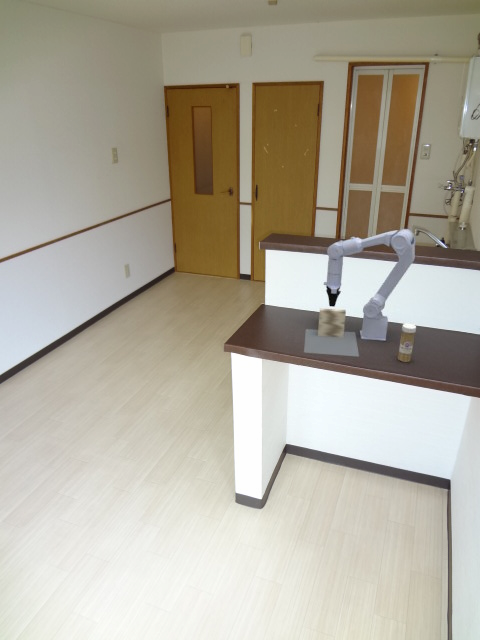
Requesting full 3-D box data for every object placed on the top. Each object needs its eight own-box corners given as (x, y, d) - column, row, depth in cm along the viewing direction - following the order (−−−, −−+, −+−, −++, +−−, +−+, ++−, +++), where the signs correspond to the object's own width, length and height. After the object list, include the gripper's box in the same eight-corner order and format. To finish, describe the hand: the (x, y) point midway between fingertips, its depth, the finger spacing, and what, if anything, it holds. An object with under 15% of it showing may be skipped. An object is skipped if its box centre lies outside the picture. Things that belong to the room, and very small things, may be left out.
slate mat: (354, 333, 187) (355, 332, 187) (359, 357, 167) (359, 356, 167) (305, 329, 190) (305, 329, 190) (303, 353, 170) (303, 352, 170)
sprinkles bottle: (399, 362, 163) (405, 328, 158) (395, 356, 167) (400, 323, 162) (412, 362, 163) (418, 328, 158) (408, 356, 167) (413, 323, 162)
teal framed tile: (343, 335, 184) (345, 309, 180) (343, 337, 182) (345, 311, 178) (317, 333, 185) (319, 308, 181) (317, 335, 183) (319, 310, 179)
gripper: (324, 267, 190) (322, 298, 195) (324, 277, 177) (322, 310, 182) (341, 268, 189) (338, 299, 194) (343, 278, 176) (340, 311, 181)
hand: (331, 304), depth 188 cm, fingers open, 3 cm apart
